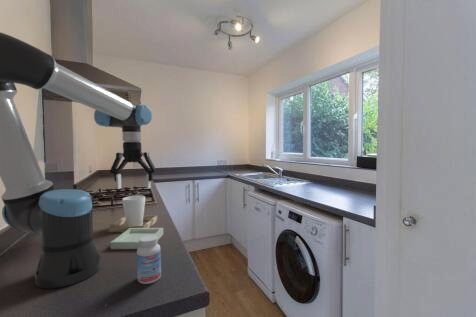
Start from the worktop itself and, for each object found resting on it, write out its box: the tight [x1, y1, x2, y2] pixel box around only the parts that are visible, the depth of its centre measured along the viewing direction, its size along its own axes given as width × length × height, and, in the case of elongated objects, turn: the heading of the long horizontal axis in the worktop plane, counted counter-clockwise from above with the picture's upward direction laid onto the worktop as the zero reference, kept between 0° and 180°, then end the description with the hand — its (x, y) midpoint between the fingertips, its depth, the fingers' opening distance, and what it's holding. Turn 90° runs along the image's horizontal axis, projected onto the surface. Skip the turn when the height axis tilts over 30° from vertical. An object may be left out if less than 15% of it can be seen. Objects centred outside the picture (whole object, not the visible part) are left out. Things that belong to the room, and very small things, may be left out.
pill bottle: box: [136, 235, 162, 285], centre depth 62 cm, size 6×6×11 cm
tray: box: [109, 227, 164, 250], centre depth 87 cm, size 14×14×2 cm
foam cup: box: [121, 195, 146, 226], centre depth 104 cm, size 10×9×13 cm
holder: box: [107, 214, 159, 233], centre depth 104 cm, size 16×16×2 cm
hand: (134, 188), depth 103 cm, fingers open, 13 cm apart
